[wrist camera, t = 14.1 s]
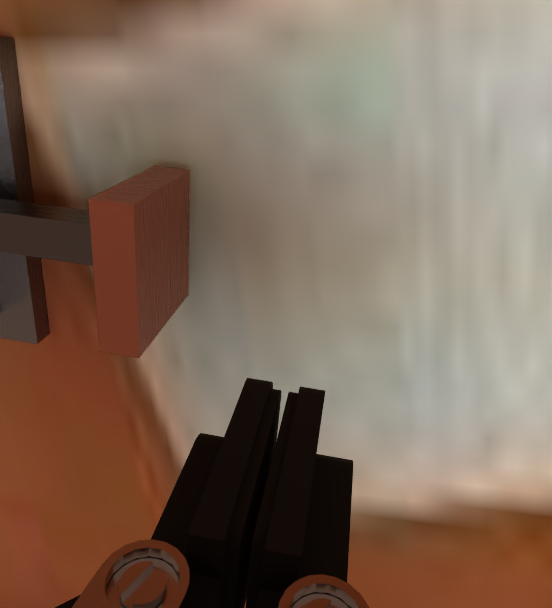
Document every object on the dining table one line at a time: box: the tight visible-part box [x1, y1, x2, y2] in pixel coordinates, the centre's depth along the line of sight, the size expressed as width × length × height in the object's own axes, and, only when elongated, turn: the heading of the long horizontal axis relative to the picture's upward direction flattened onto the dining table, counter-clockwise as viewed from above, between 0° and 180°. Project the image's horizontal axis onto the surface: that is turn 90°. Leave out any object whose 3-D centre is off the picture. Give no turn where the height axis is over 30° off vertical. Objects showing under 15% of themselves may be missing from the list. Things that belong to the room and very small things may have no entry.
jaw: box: [0, 166, 190, 358], centre depth 22 cm, size 14×12×6 cm
